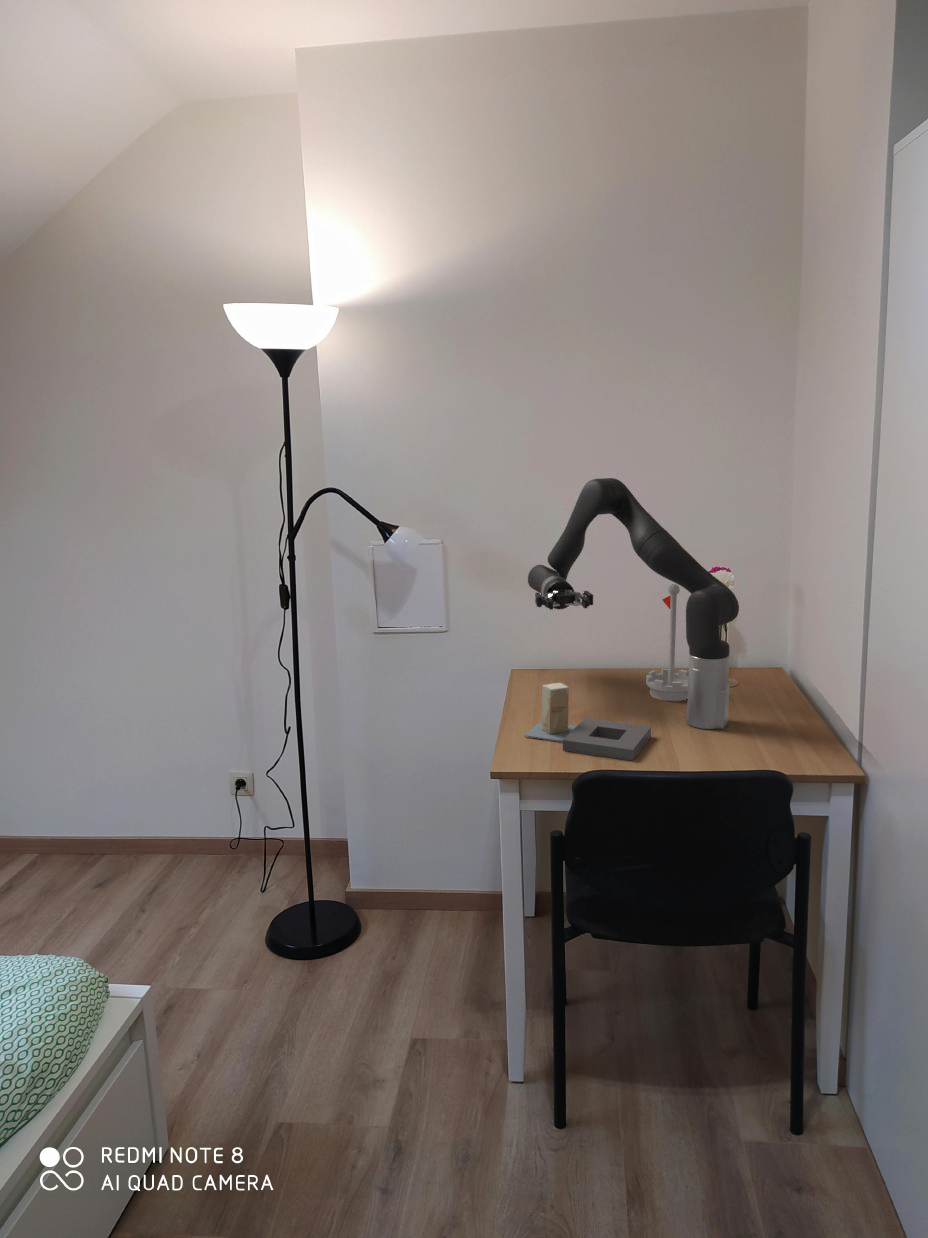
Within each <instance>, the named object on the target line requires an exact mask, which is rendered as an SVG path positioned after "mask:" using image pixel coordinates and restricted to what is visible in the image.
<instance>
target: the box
mask: <svg viewBox="0 0 928 1238" xmlns="http://www.w3.org/2000/svg"><path fill="white" fill-rule="evenodd" d="M541 690H542V691H541V692H542V693H541V721H542V729H543V730H544V731H546V732H547V733H549V734H554V733H561V732H567V731H568V724H569V700H570V699H569V695H570V693H569V691H570V687H569V686H567V685H566V684H564V683H562V682H555V683H548V684H542V689H541Z"/></svg>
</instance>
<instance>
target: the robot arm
mask: <svg viewBox="0 0 928 1238" xmlns="http://www.w3.org/2000/svg"><path fill="white" fill-rule="evenodd" d="M599 515H600V516H601V515H612V516H613V517H614V518H616V519H617V521H619V522H620V523H621V524H622V525H623V526H624V527H625V528H626V530H627V532H628V534H629V539H630V542H631V546H632V549H633V551H634V553H635V554H636V555H637V557H639V559H640V560H642V562H643V563H644V564H646V566H647V567H648V568H649V569H651V570H652V571H653V572H654V573H656V574H657V575H659V576H661V577H662V578H664V579H667V580H669V581H671V582H673V583H674V584H676V585H678V586H681V587H682V588H683V589H684V590H687V591H688V592H689V594H690V595H689V597H688V599H687V601H686V605H685V606H686V607H685V637H686V643H687V645H688V650H689V652H688V654H689V655H688V671H689V673H688V700H686V701H687V702H686V704H687V705H686V723H687V724H688V725H689V726H691V727H693V728H698V729H703V730H716V729H719V730H720V729H721V730H724V729H725V728H726V726H727V724H728V722H729V708H730V706H729V704H730V686H731V685H730V684H729V668H730V652H731V651H730V650H731V649H730V644H729V643H728V642H727V641H726V640H724V639H721V637H720V626H722V625H726V624H728V623H731V622H733V621H735V620H736V618H737V617H738V615H739V611H740V604H739V601H738V599H737V596H736V595H735V593H734V592H733V591H732V590H731V589H730V588H729V587H728V586H727V585H726V584H724V583H723V582H722V581H720V580H719V579H718V578H717V577H715V576H714V575H713V574H712V573H710V572H709V571H708V570H707V569H706V568H704V567H703V566H702V565H701V564H700V563H699V562H698V561H697V560H696V558H694V557H693V556H692V555H691V554H690V553H689V551H687V550H686V549H685V548H684V547H683V546H682V545H681V544H680V543H679V542H678V540H676V538H674V537H673V535H671V534H670V532H668V530H666V529H665V528H664V527H663V526H662V525H661V524H660V523H659V522H658V521H657V520H656V519H655V518H654V517H653V516H652V515H651V514H650V513H649V512H648V511H647V510H646V509H645V508H644V507H643V506H642V504H641V503H640V502H639V501H638V499H637V498H636V497H635V496H634V494H633V493H632V492H631V491H630V490H629V488H628V487H627V486H626V484H625V483H623V481H621V480H620V479H616V478H613V477H607V478H606V477H605V478H594V479H590V480H588V481H587V482H586V483H585V484H584V486H583V488H582V489H581V491H580V493H579V495H578V498H577V500H576V502H575V505H574V508H573V510H572V512H571V514H570V517H569V518H568V522H567V524H566V526H565V529H564V530H563V532H562V534H561V535H560V536H559V538H558V540H557V541H556V543H555V544H554V546H553V547H552V549H551V551H550V552H549V554H548V556H547V563H548V565H549V566H550V567H548V566H546V565H544V564H536V565H535V566H533V567H531V569H530V570H529V572H528V574H527V584H528V586H529V588H531V589H533V590H534V591H536V592H535V593H534V603H535V605H536V607H537V608H542V606H544V608H546V609H549V610H552V611H553V610H565V609H567V608H568V607H570V606H573V607H579V606H582V608H583V609H588V607H589V608H590V606H593V605H594V594H593V593H591V592H590V591H589V590H584V591H583V592H582V593H581V592H579V591H575V589H574V588H573V586H572V585H571V584H570V583H569V581H567V579H568V575H569V573H570V571H571V569H572V567H573V565H574V564H575V562H576V561H577V559H578V558H579V557H580V555H581V553H582V551H583V550H584V545H585V540H586V532H587V530H588V528H589V526H590V524H591V523H592V522H593V521H594V519H595V518H596V517H597V516H599Z"/></svg>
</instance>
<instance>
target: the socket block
mask: <svg viewBox="0 0 928 1238" xmlns="http://www.w3.org/2000/svg"><path fill="white" fill-rule="evenodd" d="M651 737H652V726H650V725H643V724H633V723H627V722H620V721H618V722H617V721H613V720H612V721H611V720H605V719H603V720H602V719H598V718H597V719H595V718H588V717H585V718H584V719H582V721H580V722H579V723H578V724H577V726H576V727H575V728H574V729H573V730H572V731H571V732H570V733H569V734H568V735H567V736H566V737H565V738H564V739H563V743H562V751H563V750H565V751H564V752H570V751H571V752H572V753H577V754H584V755H591V756H597V757H598V756H599V757H606V758H613V759H619V760H626V761H634V760H635V758H636V757H637V756H638V754H639V753H640V751H641V750H642V749H643V748H644V747H645V746H646V743H648V741H649V740H650V739H651Z"/></svg>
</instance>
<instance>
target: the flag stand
mask: <svg viewBox="0 0 928 1238" xmlns="http://www.w3.org/2000/svg"><path fill="white" fill-rule="evenodd" d="M679 586H680V585H679V584H677V583H672V584H670V585H669V587H667V591H668V594H670V595H668V596H667V597H665V598H662V599H661V600H662V602H663V603H664V604H665V605H666V607H667V608H668V610H670V611H669V613H670V614H669V616H670V617H669V618H670V619H669V640H668V642H669V645H668V668H661V672H659V673H657V671H656V670H654V669H653V670H650V671H648V673H647V674H646V675H645V684H646V685H647V687H649V696H650V695H651V696H652V697H651V696H650V697H651V698H653V697H654V699H655V698H657V699H656V700H658V699H659V701H663V700H664V701H666V702H683V701H682V700H684V701H687V700H686V699H688V674H689V670H683V669H679V670H678V673H677V672H675V667H676V666H675V661H676V658H675V657H676V631H677V630H676V627H677V623H676V622H677V604H678V603H677V599H678V597H677V595H678V594H679V593H680V589H681V588H680V587H679Z"/></svg>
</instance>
